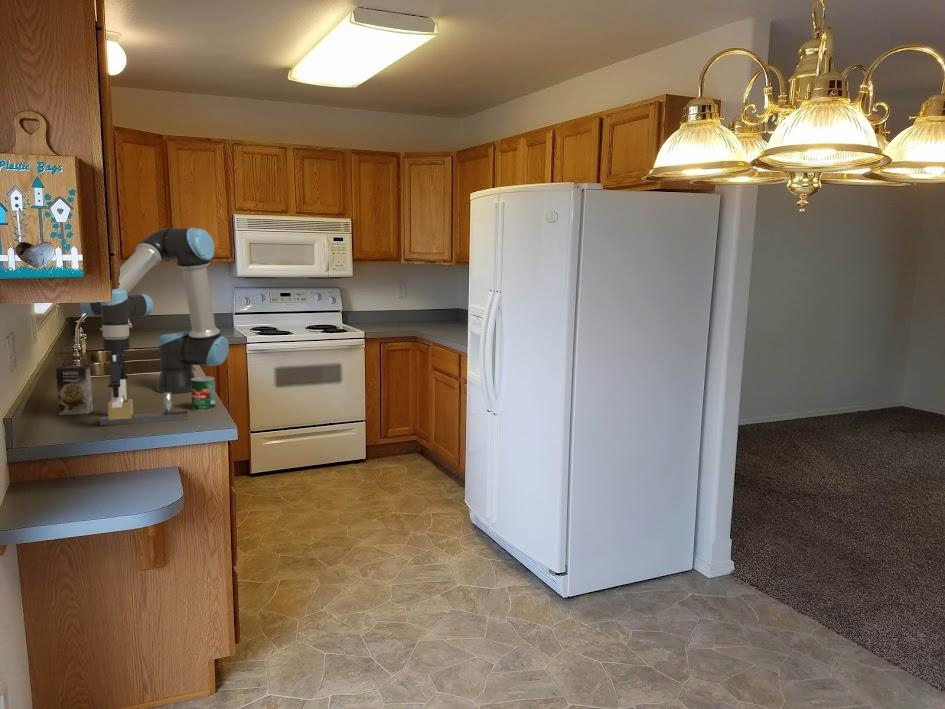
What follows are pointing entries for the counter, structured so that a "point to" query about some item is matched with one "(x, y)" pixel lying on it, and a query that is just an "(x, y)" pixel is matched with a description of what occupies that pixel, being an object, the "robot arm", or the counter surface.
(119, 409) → the collar
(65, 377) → the cookie box
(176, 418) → the grey peg stand
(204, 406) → the canned tomato
